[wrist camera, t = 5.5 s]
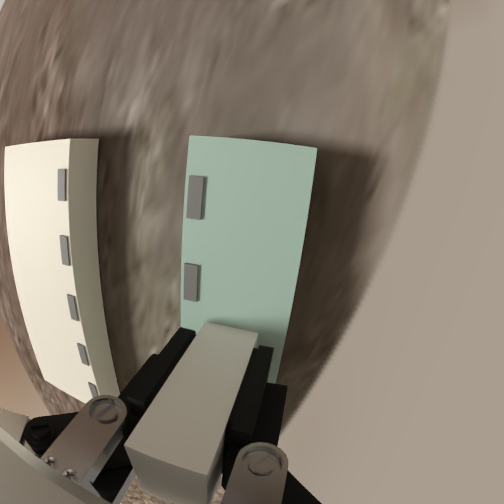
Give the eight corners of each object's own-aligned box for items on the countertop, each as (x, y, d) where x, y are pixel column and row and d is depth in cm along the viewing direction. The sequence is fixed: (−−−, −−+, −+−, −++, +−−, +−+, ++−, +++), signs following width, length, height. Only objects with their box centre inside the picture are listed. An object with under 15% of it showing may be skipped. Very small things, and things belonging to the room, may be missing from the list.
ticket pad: (30, 144, 13) (3, 147, 11) (98, 138, 12) (68, 138, 10) (59, 365, 18) (43, 380, 16) (120, 395, 17) (105, 414, 15)
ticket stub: (210, 139, 11) (38, 121, 3) (316, 150, 10) (330, 118, 3) (197, 425, 16) (148, 527, 8) (261, 440, 15) (229, 552, 8)
